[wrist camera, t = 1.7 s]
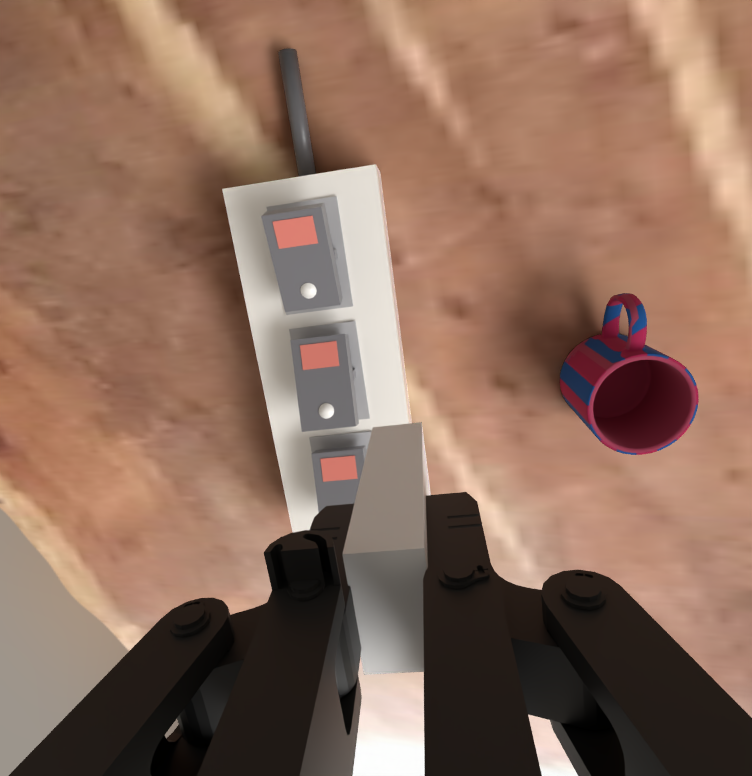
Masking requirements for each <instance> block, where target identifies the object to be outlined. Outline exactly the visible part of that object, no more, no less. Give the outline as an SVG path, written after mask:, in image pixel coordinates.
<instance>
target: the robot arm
mask: <svg viewBox="0 0 752 776" xmlns="http://www.w3.org/2000/svg"><path fill="white" fill-rule="evenodd" d="M264 556H265V560H266V565H267V569H268V573H269V578H270V582H271V587H272V592H271V595H270V597H269V600H268V602H267V603H265V604H263V605H261V606H258V607H255V608H252V609H249V610H246V611H242V612H239V613H235V614H232V615H230V613H229V609H228V607H227V605H226V604H225V603H224V602H223V601H222V600H219V599H215V598H200V599H195V600H191V601H189V602H186V603H184V604H182V605H180V606H178V607H176V608H174V609H172V610H171V611H170V612H169V613H167V614H166V615H165V616H164V617H163V618H161V619H160V620H159V621H158V622H157V623H156V624H155V626H154V627H153V628H152V629H151V630H150V631H149V632H148V633H147V634H146V635H145V636H144V637H143V638H142V639H141V640H140V641H139V642H138V643H137V644H136V645H135V646H134V647H133V648H132V649H131V650H130V651H129V652H128V653H127V654H126V655H125V656H124V657H123V658H122V659H121V660H120V662H119V663H118V664H117V665H116V666H115V667H114V668H113V669H112V670H111V671H110V672H109V673H108V674H107V675H106V676H105V677H104V678H103V679H102V680H101V681H100V682H99V683H98V684H97V685H96V686H95V687H94V688H93V689H92V690H91V691H90V693H88V695H87V696H86V697H85V698H84V699H83V700H82V701H81V702H80V703H79V704H78V705H77V706H76V707H75V708H74V709H73V710H72V711H71V712H70V713H69V714H68V715H67V716H66V717H65V718H64V719H63V720H62V721H61V722H60V723H59V724H58V725H57V726H56V727H55V728H54V729H53V731H51V733H50V734H49V735H48V736H47V737H46V738H45V739H44V740H43V741H42V742H41V743H40V744H39V745H38V746H37V747H36V748H35V749H34V750H33V751H32V752H31V753H30V754H29V755H28V756H27V757H26V758H25V759H24V760H23V761H22V763H20V764H19V765H18V767H17V768H16V769H15V770H14V771H13V772H12V773H11V774H10V775H9V776H352V774H353V765H354V757H355V748H356V740H357V732H358V723H359V715H360V706H361V689H360V683H359V677H358V670H359V662H360V655H361V661H362V666H363V672H364V675H366V674H385V673H405V672H424V737H425V776H542V775H541V771H540V766H539V762H538V757H537V753H536V749H535V744H534V740H533V735H532V731H531V726H530V722H529V717H528V714H529V715H533V716H537V717H541V718H545V719H549V720H550V722H551V725H552V728H553V731H554V732H555V734H556V736H557V738H558V740H559V741H560V743H561V745H562V747H563V749H564V750H565V752H566V754H567V756H568V758H569V760H570V761H571V763H572V765H573V767H574V769H575V770H576V772H577V774H578V776H752V718H751V717H750V716H749V715H748V714H747V713H746V712H745V711H744V710H743V709H742V708H741V707H740V706H739V705H738V704H737V703H736V702H735V701H734V700H733V699H732V698H731V697H730V696H729V695H728V694H727V693H726V692H725V691H724V690H723V689H722V688H721V687H720V686H719V685H718V684H717V683H716V682H715V681H714V679H713V678H712V677H711V676H710V675H709V674H708V673H707V672H706V671H705V670H704V669H703V668H702V667H701V666H700V665H699V664H698V663H697V662H696V661H695V660H694V659H693V658H692V657H691V656H690V655H689V654H688V653H687V652H686V651H685V650H684V649H683V648H682V647H681V646H680V645H679V644H678V643H677V642H676V641H675V640H674V639H673V638H672V637H671V636H670V635H669V634H668V633H667V632H666V631H665V630H664V629H663V628H662V627H661V626H660V625H659V624H658V623H657V622H656V621H655V620H654V619H653V618H652V617H651V616H650V615H649V614H648V613H647V612H646V611H645V610H644V609H643V608H642V607H641V606H640V605H639V604H638V603H637V602H636V601H635V600H634V599H633V598H632V597H631V596H630V595H629V594H628V593H627V592H626V591H625V590H624V589H623V588H622V587H621V586H620V585H619V584H617V583H616V582H615V581H613V580H612V579H610V578H609V577H606V576H604V575H601V574H598V573H596V572H591V571H584V570H570V571H562V572H560V573H557V574H555V575H552V576H551V577H550V578H549V579H548V580H547V581H545V582H544V583H543V588H542V590H538V589H532V588H526V587H522V586H518V585H515V584H512V583H510V582H508V581H506V580H504V579H503V578H501V577H500V576H498V574H497V573H496V572H495V571H494V569H493V567H492V565H491V563H490V558H489V554H488V549H487V545H486V540H485V536H484V531H483V527H482V522H481V517H480V513H479V508H478V504H477V501H476V500H475V499H473V498H472V497H471V496H470V495H469V494H468V493H467V492H461V493H450V494H439V495H431V493H430V485H429V477H428V469H427V460H426V452H425V444H424V436H423V428H422V422H419V423H409V424H400V425H390V426H381V427H373V428H372V432H371V436H370V440H369V444H368V449H367V453H366V457H365V461H364V465H363V470H362V474H361V478H360V482H359V487H358V491H357V495H356V499H355V503H354V504H343V505H331V506H326V507H324V508H323V509H322V510H321V511H320V512H319V513H318V514H317V515H316V516H315V517H314V519H313V522H312V524H311V527H310V530H304V531H299V532H293V533H290V534H288V535H285V536H283V537H280V538H279V539H277V540H276V541H274V542H273V543H271V544H270V545H269V546H268V548H267V549H266V550H265V551H264ZM176 719H177V720H178V723H179V725H178V726H177V728H176V729H175V730H174V732H173V733H172V734H171V735H170V736H169V737H168V738H167V739H166V738H165V733H166V732H167V731H168V729H169V728H170V727H171V725H172V724H173V723H174V721H175V720H176Z"/></svg>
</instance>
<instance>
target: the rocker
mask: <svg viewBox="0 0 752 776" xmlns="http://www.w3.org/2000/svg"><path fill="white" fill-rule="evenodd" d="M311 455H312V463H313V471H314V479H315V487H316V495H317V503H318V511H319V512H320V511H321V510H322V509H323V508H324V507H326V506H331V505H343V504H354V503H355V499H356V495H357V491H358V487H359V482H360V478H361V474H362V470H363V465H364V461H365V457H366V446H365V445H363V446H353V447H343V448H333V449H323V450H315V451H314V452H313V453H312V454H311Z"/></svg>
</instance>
